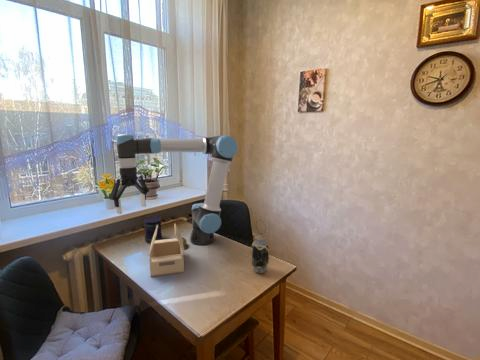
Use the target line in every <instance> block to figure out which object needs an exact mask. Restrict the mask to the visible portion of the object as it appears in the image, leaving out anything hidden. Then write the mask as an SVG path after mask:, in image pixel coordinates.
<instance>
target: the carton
mask: <svg viewBox="0 0 480 360" xmlns="http://www.w3.org/2000/svg"><path fill="white" fill-rule="evenodd" d="M184 261H185V259H184V252H183V251H182V249H181V247H180V244H179V242H178V240H177V238H176V237H173V238H167V239H166V238H165V239H162V240H155V242H154V245H153V248H152V251H151V254H150V256H149V270H150V272H149V273H150V278H153V277H160V276H161V277H162V276H167V275H174V274H181V273H184V272H185V265H184V264H185V263H184Z"/></svg>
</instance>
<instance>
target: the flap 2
mask: <svg viewBox="0 0 480 360" xmlns="http://www.w3.org/2000/svg"><path fill="white" fill-rule="evenodd" d="M174 236H175V238H177V240H178V242H179V244H180V247H181V249H182V251H183V253H185V249H184V247H183V239H182V237H183V236H182V235H181V233H180V231H179V229H178V226H177V224H176V223H174Z"/></svg>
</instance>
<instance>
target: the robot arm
mask: <svg viewBox="0 0 480 360" xmlns="http://www.w3.org/2000/svg"><path fill="white" fill-rule="evenodd" d="M238 147H239V144H238V142H237V141H236V139H235V138H234V137H232V136H230V135H226V134H224V135H223V134H222V135H215V136H210V137H209V136H208V137H206V136H205V137H203V138H198V139H197V138H159V137H145V138H144V137H142V138H136V137H135V136H134V134H130V133H124V134H117V135H116V149H117V156H118V167H120V168H119V175H120V178H114V181H113V183H114V184H113V186H112V190H111V193H110V196H109V201H110V200H111V201H113V204H114V208H116V213H117V214H119V215H122V214H123V209H122V202H121V197H122V195H123V194H124V192H125V190H126V189H127V188H129V187H135V188H136V189H137V190H138V191H139V192H140V195H139V197H140V206H141V207H145V208H146V207H147V204H146V203H147V201H146V200H147V194H148V193H150V190H149V187H148V186H147V183H146V182H145V180H144V177H143V175H142V174H138V172H137V171H138V169H137V168H138V167H136V166H137V157H136V155H145V154H146V155H148V154H153V155H155V154H160V153H202V154H204V155H211V157H210V158H211V160H212V166H211V171H210V174H209V178H208V183H207V188H206V193H205V197H204V201H203V202H199V203H194V204H192V205H191V206H192V207H191V220H192V221H191V223H192V229H191V232H190V236H189V241H190V243H191V244H193V245H201V246H202V245H207V244H211V243H213V242H214V241H216V240H215V239H216V237H215V232H217V231H219V229H220V228H221V226H222V218H221V217H220V216H221V212H222V208H221V207H220V205H221V201H222V200H221V199H222V195H223V191H224V187H225V186H224V185H225V182H226V177H227V173H228V168H229V165H230V164H231V163H233V159H234V156H235V155H236V154H237V153H238V150H239V148H238ZM137 174H138V175H137ZM137 180H138V181H137Z"/></svg>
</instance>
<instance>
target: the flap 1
mask: <svg viewBox="0 0 480 360" xmlns="http://www.w3.org/2000/svg"><path fill="white" fill-rule="evenodd" d="M157 228H158V225H157V226H156V229H155V232H154V235H153V238H152V241H151V244H150V247H149V251H148V257H150V254H151V251H152V248H153V245H154V242H155V239H156V235H157Z"/></svg>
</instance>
